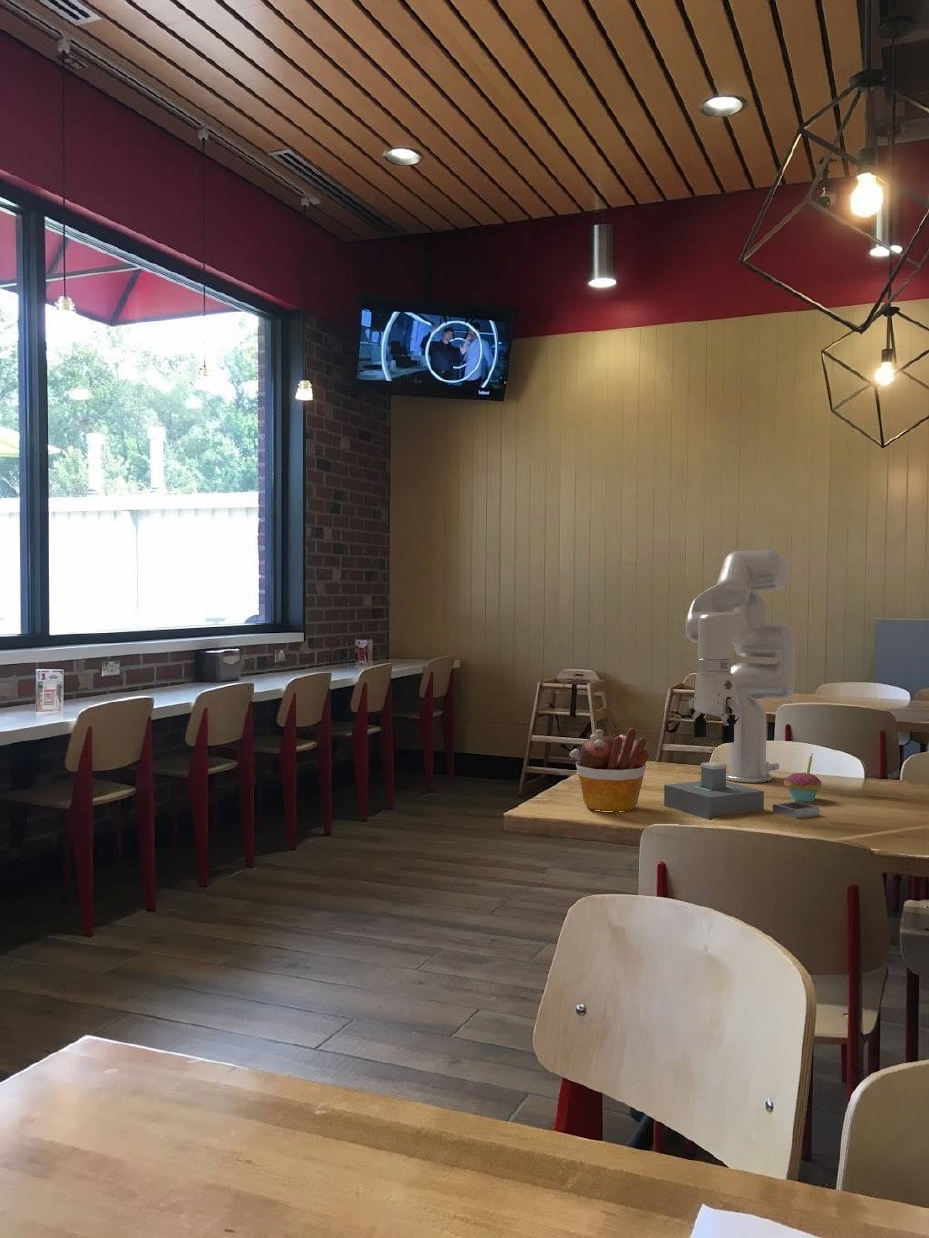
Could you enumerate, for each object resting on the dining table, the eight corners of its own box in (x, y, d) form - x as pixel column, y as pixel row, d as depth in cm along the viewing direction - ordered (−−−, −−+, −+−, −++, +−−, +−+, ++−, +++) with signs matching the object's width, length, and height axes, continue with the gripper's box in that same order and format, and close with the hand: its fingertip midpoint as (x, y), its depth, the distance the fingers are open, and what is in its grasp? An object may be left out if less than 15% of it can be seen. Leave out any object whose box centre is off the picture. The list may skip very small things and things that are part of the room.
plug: (714, 802, 236) (714, 762, 236) (726, 805, 232) (726, 764, 232) (700, 804, 234) (700, 763, 234) (712, 807, 230) (712, 766, 230)
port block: (717, 799, 244) (717, 778, 244) (763, 812, 230) (763, 790, 229) (664, 805, 237) (664, 783, 237) (708, 819, 222) (709, 796, 222)
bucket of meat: (560, 802, 240) (560, 720, 240) (620, 797, 246) (620, 717, 246) (601, 820, 221) (602, 730, 221) (665, 814, 228) (665, 727, 227)
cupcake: (821, 799, 244) (821, 751, 244) (821, 806, 236) (822, 756, 236) (784, 797, 247) (784, 749, 247) (783, 804, 239) (784, 754, 239)
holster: (796, 811, 231) (796, 801, 231) (819, 817, 224) (819, 807, 224) (772, 814, 228) (772, 804, 228) (795, 821, 221) (795, 810, 221)
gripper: (752, 668, 226) (752, 743, 227) (702, 663, 242) (702, 734, 242) (726, 669, 223) (726, 746, 223) (677, 664, 238) (677, 736, 239)
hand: (713, 739), depth 233 cm, fingers open, 9 cm apart
